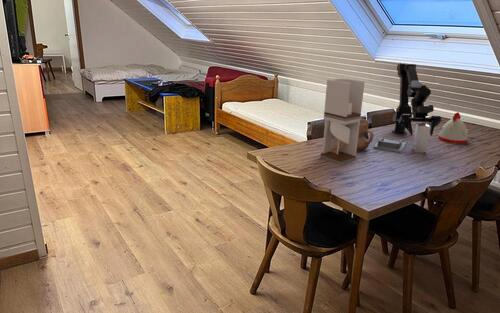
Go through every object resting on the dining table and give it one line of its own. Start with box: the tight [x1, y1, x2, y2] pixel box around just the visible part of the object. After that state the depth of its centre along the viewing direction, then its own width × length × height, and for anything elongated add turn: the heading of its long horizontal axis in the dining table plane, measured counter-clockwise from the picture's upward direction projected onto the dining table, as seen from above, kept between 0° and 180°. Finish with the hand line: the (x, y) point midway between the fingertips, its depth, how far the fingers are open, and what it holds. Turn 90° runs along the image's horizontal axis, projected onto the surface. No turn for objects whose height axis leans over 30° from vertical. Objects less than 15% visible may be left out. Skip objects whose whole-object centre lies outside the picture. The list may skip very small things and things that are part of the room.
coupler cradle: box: [373, 136, 407, 153], centre depth 199 cm, size 16×13×4 cm
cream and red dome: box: [437, 111, 469, 144], centre depth 212 cm, size 14×14×15 cm
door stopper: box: [360, 115, 370, 141], centre depth 209 cm, size 9×6×12 cm, turn 39°
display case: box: [319, 77, 366, 165], centre depth 173 cm, size 11×11×35 cm
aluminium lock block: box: [412, 122, 431, 153], centre depth 191 cm, size 5×5×14 cm
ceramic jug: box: [356, 118, 374, 152], centre depth 191 cm, size 18×14×14 cm
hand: (421, 135), depth 191 cm, fingers open, 9 cm apart
